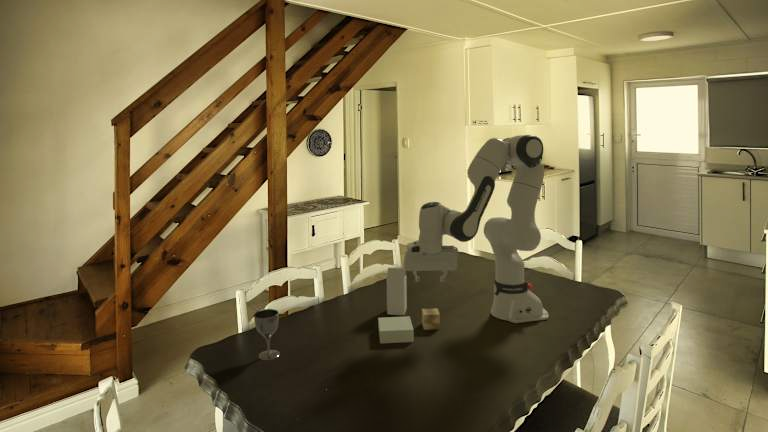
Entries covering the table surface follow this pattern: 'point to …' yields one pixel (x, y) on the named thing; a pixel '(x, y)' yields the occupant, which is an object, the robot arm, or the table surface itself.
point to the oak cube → (430, 319)
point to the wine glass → (267, 330)
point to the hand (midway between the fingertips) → (430, 281)
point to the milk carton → (396, 291)
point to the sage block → (395, 329)
